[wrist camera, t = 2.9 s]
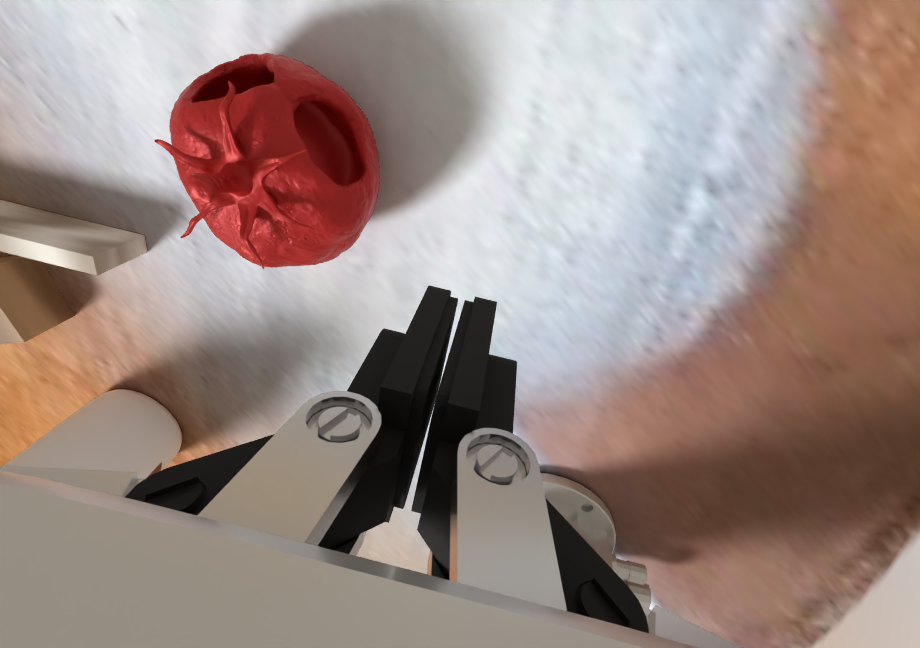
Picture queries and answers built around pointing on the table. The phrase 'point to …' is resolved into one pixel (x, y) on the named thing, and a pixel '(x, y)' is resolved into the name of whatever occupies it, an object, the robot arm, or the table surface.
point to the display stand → (65, 240)
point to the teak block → (28, 300)
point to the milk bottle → (109, 437)
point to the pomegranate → (275, 160)
